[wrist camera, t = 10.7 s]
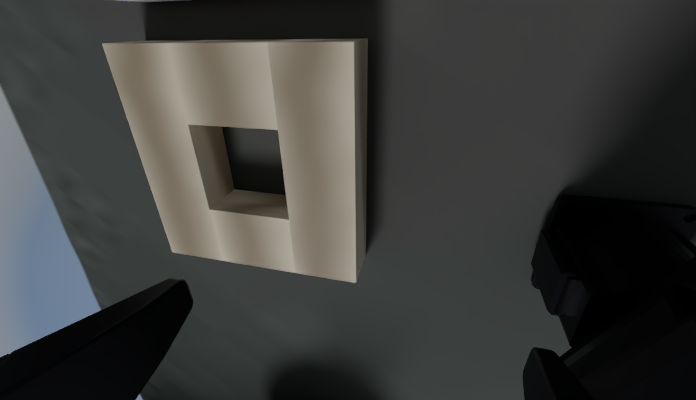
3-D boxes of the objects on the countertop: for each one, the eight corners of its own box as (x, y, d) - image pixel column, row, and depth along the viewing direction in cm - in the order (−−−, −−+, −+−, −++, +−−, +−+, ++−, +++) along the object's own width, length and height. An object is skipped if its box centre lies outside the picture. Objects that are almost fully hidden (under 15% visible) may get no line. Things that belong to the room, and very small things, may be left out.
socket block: (367, 38, 17) (353, 41, 15) (365, 254, 24) (356, 283, 21) (145, 40, 20) (101, 43, 18) (198, 230, 27) (172, 252, 24)
